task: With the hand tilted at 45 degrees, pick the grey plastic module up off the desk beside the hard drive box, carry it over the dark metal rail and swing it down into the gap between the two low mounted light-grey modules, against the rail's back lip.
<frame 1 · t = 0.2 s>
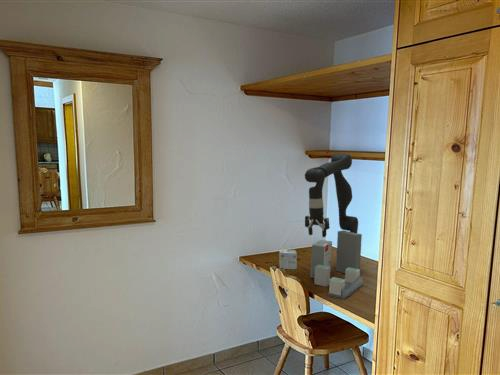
hand: (317, 235, 212), 29 cm above the table, tool pointing down, fingers open, 8 cm apart
mounted module 2: (352, 284, 221), resting on rail
tall upright rectangular panel: (348, 273, 240), on the table
light bulb box: (287, 268, 248), on the table
rail: (345, 289, 212), on the table
hard drive box: (320, 275, 235), on the table
mounted module 1: (336, 295, 204), resting on rail
module: (322, 284, 220), on the table
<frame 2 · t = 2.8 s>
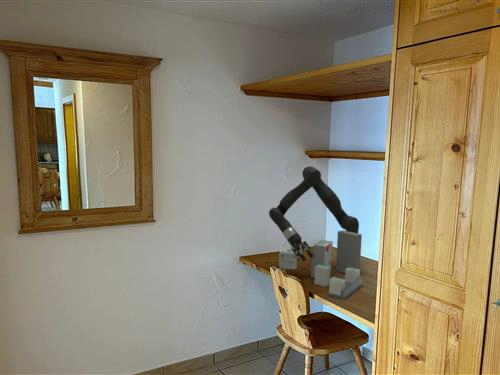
hand: (308, 259, 224), 13 cm above the table, tool tilted 45°, fingers open, 8 cm apart
hard drive box: (321, 275, 235), on the table, touching gripper
everything else where it was.
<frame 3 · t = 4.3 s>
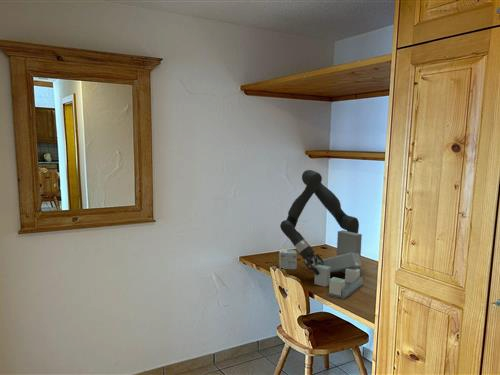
hand: (321, 272, 220), 6 cm above the table, tool tilted 45°, fingers open, 8 cm apart
hard drive box: (324, 267, 235), point 5 cm above the table, touching mounted module 2
everything else where it was.
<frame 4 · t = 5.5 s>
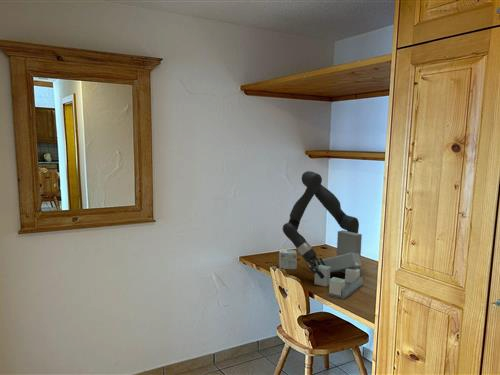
hand: (325, 276, 219), 5 cm above the table, tool tilted 45°, fingers closed on module, 5 cm apart
module: (322, 284, 220), on the table, touching gripper
everything else where it was.
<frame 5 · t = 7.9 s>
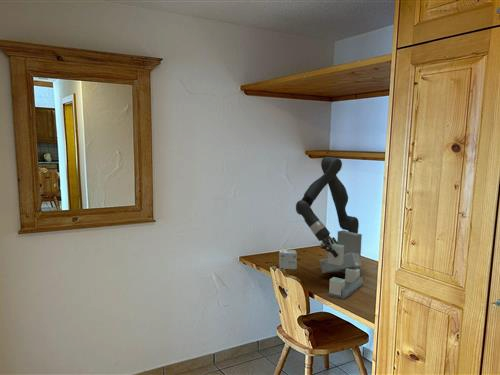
hand: (338, 255, 213), 18 cm above the table, tool tilted 45°, fingers closed on module, 5 cm apart
module: (335, 263, 214), point 13 cm above the table, touching gripper
everything else where it was.
when the fingers open (8 cm above the table, at t = 10.4 s): module drops 1 cm, resting on rail.
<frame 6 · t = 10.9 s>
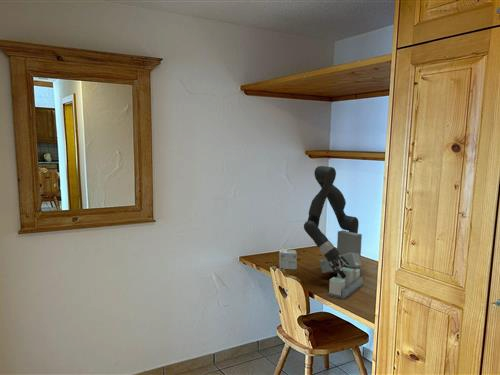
hand: (347, 275, 211), 8 cm above the table, tool tilted 45°, fingers open, 8 cm apart
module: (344, 286, 212), point 1 cm above the table, touching rail
everything else where it was.
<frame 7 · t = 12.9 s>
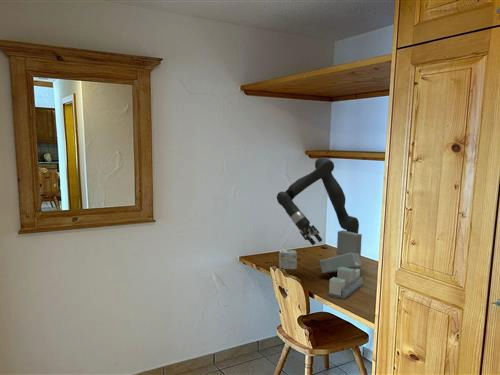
hand: (317, 242, 221), 23 cm above the table, tool tilted 45°, fingers open, 8 cm apart
nothing on the table moved.
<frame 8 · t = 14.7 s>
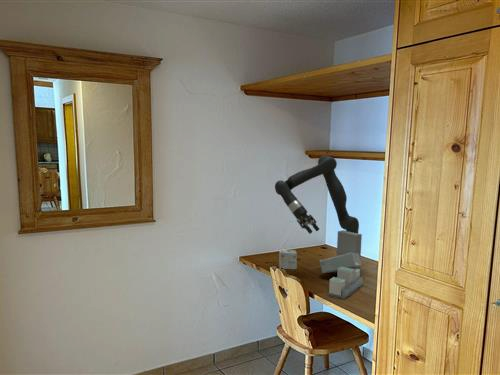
hand: (314, 231, 222), 29 cm above the table, tool tilted 45°, fingers open, 8 cm apart
nothing on the table moved.
at the end: module inside the target area on the rail (0.1 cm from its centre), point 1.5 cm above the rail's base; module tilted 0°; the gripper is holding nothing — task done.
